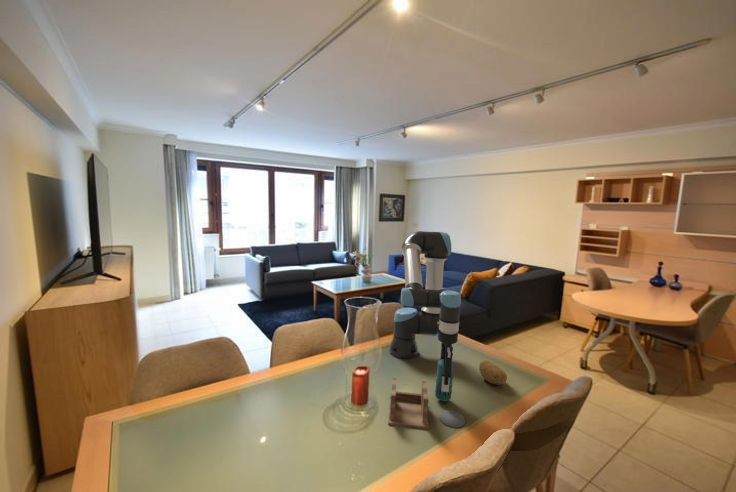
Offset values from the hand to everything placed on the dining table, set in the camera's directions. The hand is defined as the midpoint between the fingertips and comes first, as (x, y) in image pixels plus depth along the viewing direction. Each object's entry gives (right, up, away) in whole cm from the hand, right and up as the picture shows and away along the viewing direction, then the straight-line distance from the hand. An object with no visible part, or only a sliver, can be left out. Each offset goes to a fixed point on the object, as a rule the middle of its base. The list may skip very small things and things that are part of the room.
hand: (443, 386), depth 128 cm
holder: (-15, -7, -8) cm, 18 cm away
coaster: (0, -8, -11) cm, 13 cm away
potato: (+26, -6, +17) cm, 31 cm away
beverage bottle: (0, -6, +1) cm, 6 cm away
